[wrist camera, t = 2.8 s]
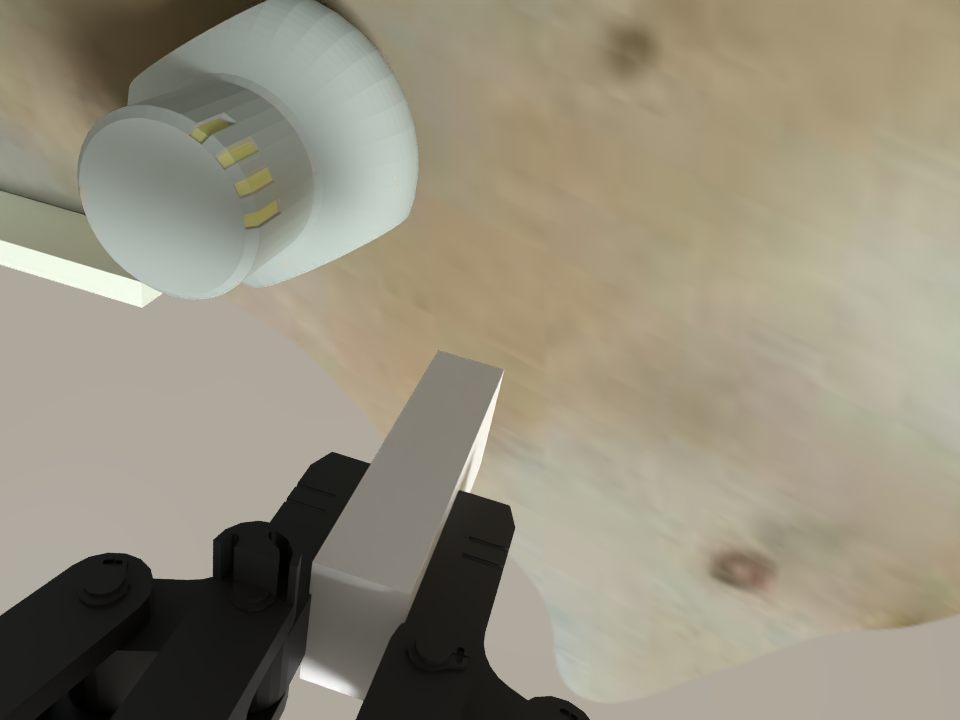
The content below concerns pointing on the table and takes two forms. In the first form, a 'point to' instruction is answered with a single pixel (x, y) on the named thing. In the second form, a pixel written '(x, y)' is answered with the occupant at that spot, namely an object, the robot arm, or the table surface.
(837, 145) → the table surface
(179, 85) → the air freshener
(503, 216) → the table surface
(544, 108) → the table surface
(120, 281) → the dock
